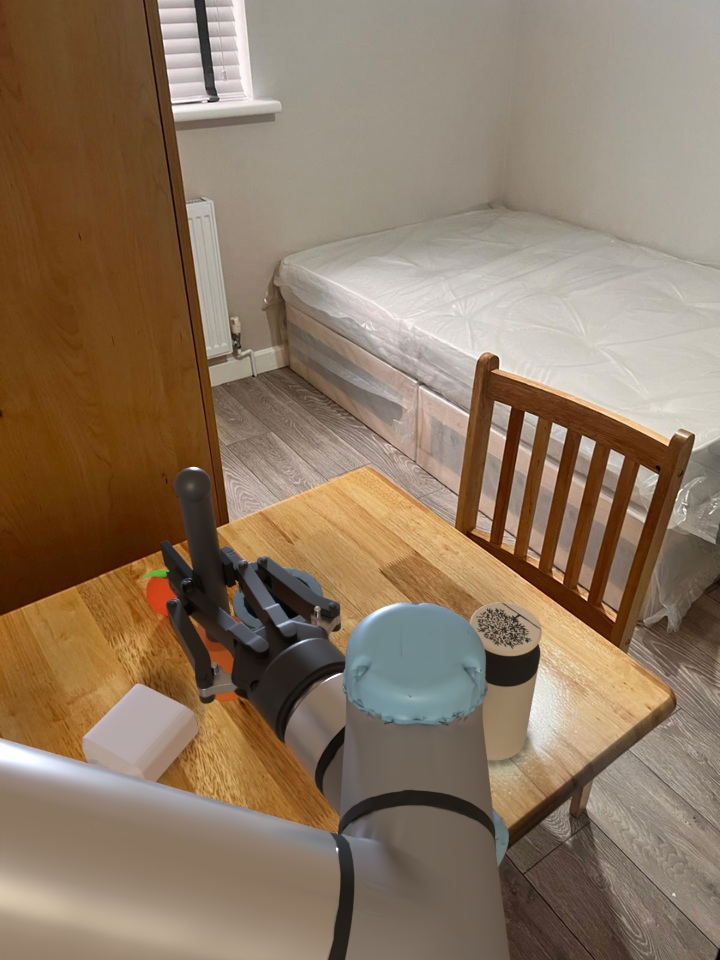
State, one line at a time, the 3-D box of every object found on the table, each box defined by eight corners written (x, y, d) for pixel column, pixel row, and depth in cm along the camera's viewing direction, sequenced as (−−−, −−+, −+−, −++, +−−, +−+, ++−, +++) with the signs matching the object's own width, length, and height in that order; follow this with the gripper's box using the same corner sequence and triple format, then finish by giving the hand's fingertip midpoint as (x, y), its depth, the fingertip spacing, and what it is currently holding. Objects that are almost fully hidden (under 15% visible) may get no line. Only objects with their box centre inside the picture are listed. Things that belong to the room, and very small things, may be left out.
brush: (224, 709, 70) (183, 495, 56) (194, 682, 73) (147, 471, 58) (262, 680, 73) (232, 468, 58) (232, 655, 76) (196, 447, 61)
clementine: (136, 623, 103) (126, 586, 99) (153, 590, 109) (144, 553, 105) (191, 628, 102) (183, 590, 98) (205, 593, 108) (198, 556, 104)
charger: (48, 803, 81) (142, 705, 91) (108, 842, 77) (200, 735, 88) (36, 778, 78) (135, 680, 89) (98, 817, 74) (194, 709, 85)
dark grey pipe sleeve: (281, 706, 91) (273, 645, 85) (225, 659, 97) (214, 599, 91) (344, 655, 97) (341, 595, 91) (288, 614, 104) (281, 555, 98)
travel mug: (487, 774, 83) (501, 667, 72) (444, 724, 88) (452, 618, 78) (539, 741, 86) (560, 634, 76) (495, 695, 92) (508, 589, 81)
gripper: (235, 799, 51) (110, 611, 67) (405, 689, 59) (258, 543, 75) (221, 733, 47) (91, 548, 63) (407, 624, 55) (250, 483, 70)
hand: (182, 546), depth 69 cm, fingers closed on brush, 3 cm apart
